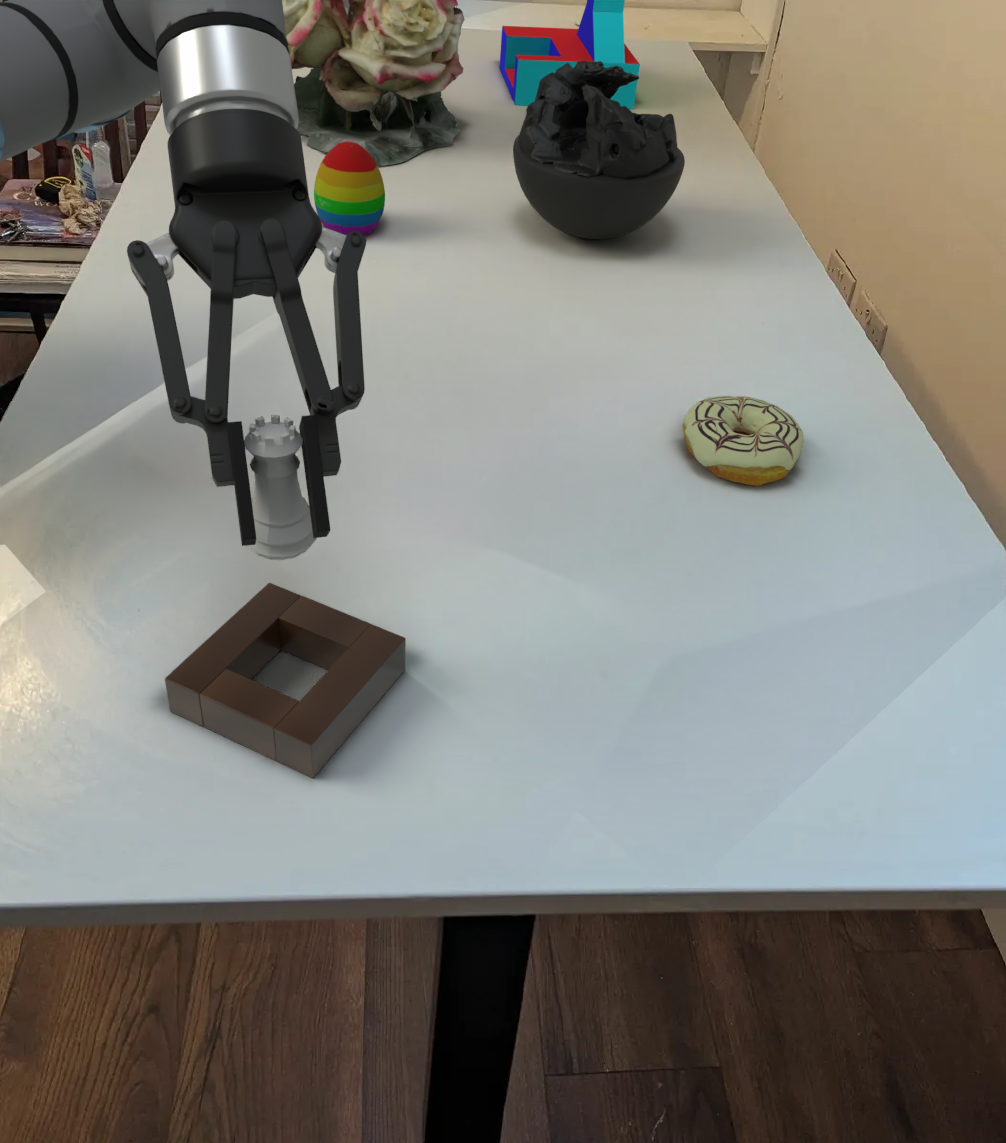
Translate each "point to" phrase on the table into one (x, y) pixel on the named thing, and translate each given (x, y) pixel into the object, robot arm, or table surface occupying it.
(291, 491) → the rook chess piece
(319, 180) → the decorative egg
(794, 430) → the decorated donut
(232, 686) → the brown square frame
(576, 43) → the building blocks toy
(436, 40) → the rose bouquet
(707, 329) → the table surface
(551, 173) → the coal bowl
